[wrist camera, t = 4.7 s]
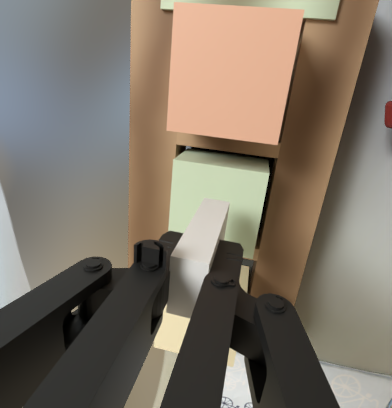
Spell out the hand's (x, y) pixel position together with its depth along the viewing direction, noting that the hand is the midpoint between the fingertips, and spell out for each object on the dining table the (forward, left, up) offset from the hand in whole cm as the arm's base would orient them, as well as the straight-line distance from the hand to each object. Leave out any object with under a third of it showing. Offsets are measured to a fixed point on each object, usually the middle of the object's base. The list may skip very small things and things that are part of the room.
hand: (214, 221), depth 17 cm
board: (0, 0, -7) cm, 7 cm away
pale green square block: (0, 0, -6) cm, 6 cm away
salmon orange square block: (0, -8, -4) cm, 9 cm away
